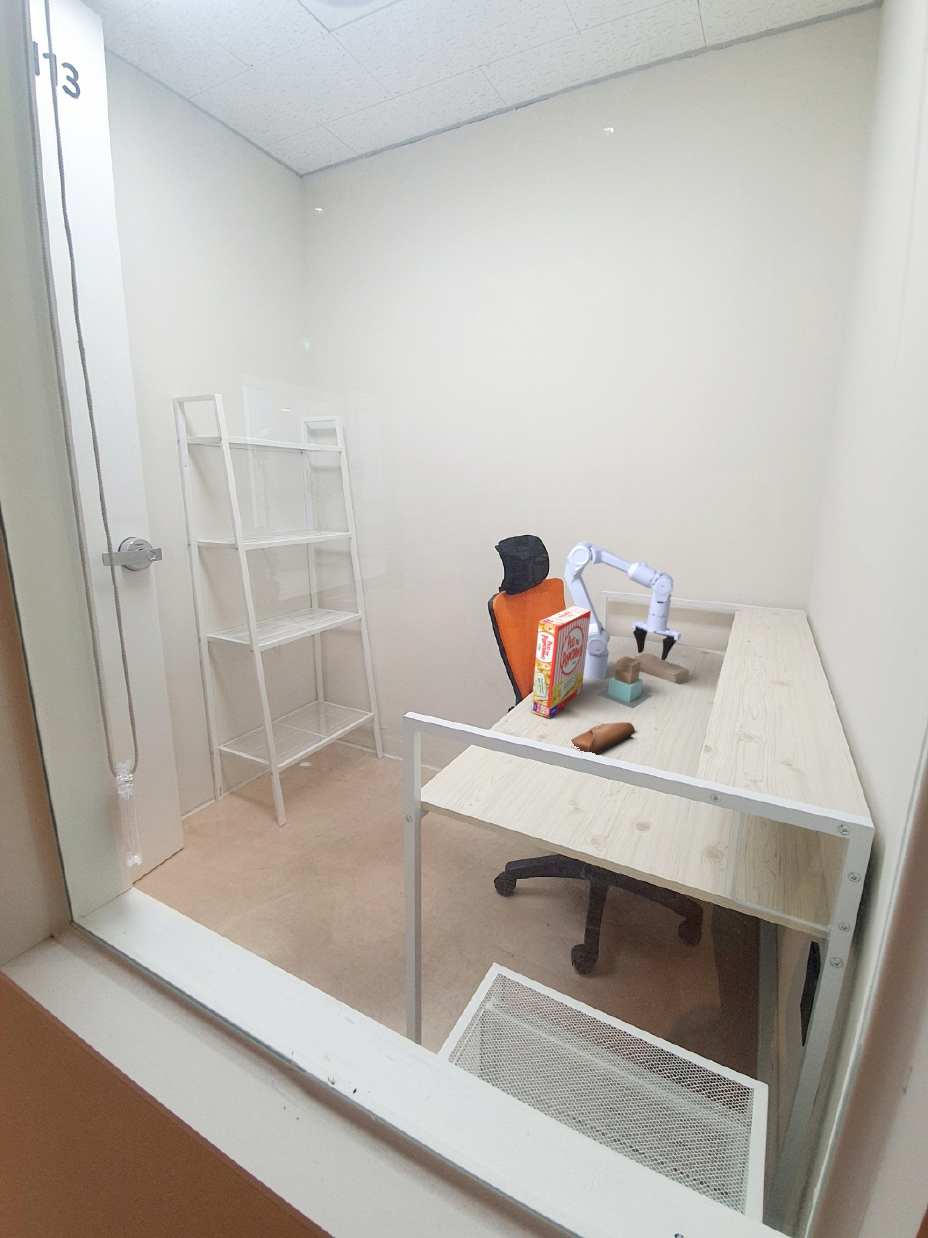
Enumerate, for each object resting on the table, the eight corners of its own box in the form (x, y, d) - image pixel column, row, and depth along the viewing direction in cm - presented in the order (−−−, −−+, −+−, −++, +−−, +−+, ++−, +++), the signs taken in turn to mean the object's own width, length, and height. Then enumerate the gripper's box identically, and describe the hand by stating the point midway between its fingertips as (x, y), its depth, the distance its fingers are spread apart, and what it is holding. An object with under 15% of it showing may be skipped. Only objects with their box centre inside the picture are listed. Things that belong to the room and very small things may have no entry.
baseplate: (595, 697, 159) (596, 694, 159) (616, 685, 167) (616, 682, 167) (632, 711, 151) (632, 708, 151) (652, 698, 159) (652, 695, 159)
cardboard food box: (549, 719, 145) (558, 626, 137) (529, 712, 149) (536, 621, 140) (582, 694, 161) (591, 608, 152) (563, 688, 165) (571, 604, 156)
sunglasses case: (607, 722, 145) (620, 708, 141) (624, 743, 142) (639, 729, 137) (564, 743, 134) (577, 729, 130) (582, 767, 131) (596, 753, 126)
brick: (688, 681, 173) (691, 667, 172) (673, 687, 168) (676, 673, 167) (645, 664, 186) (647, 651, 184) (630, 669, 181) (632, 656, 179)
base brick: (607, 694, 159) (609, 679, 157) (619, 687, 164) (621, 672, 162) (629, 702, 154) (631, 686, 153) (640, 695, 159) (643, 679, 158)
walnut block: (614, 679, 157) (616, 660, 156) (622, 674, 161) (625, 656, 159) (629, 684, 154) (632, 665, 152) (638, 679, 158) (640, 661, 156)
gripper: (629, 610, 162) (624, 652, 166) (676, 622, 152) (669, 666, 157) (640, 606, 167) (635, 646, 171) (686, 617, 157) (679, 660, 162)
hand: (652, 655), depth 164 cm, fingers open, 7 cm apart
